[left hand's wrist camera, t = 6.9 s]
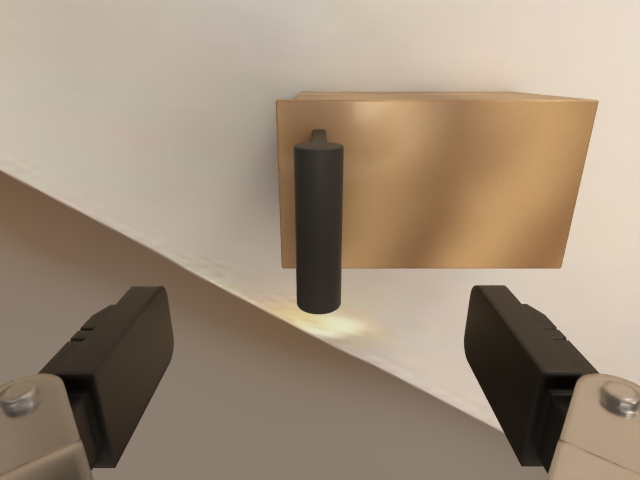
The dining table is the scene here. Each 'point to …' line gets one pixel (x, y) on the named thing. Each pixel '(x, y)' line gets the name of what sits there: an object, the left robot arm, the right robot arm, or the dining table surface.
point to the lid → (425, 185)
